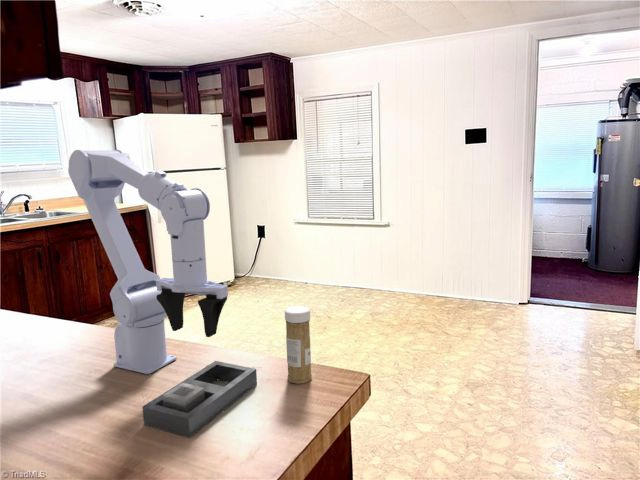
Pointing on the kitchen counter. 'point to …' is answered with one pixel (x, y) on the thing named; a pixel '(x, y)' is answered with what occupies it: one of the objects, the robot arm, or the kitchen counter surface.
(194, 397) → the gray block
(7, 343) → the kitchen counter surface
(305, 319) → the sprinkles bottle
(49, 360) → the kitchen counter surface
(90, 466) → the kitchen counter surface
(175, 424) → the grey rectangular tray
